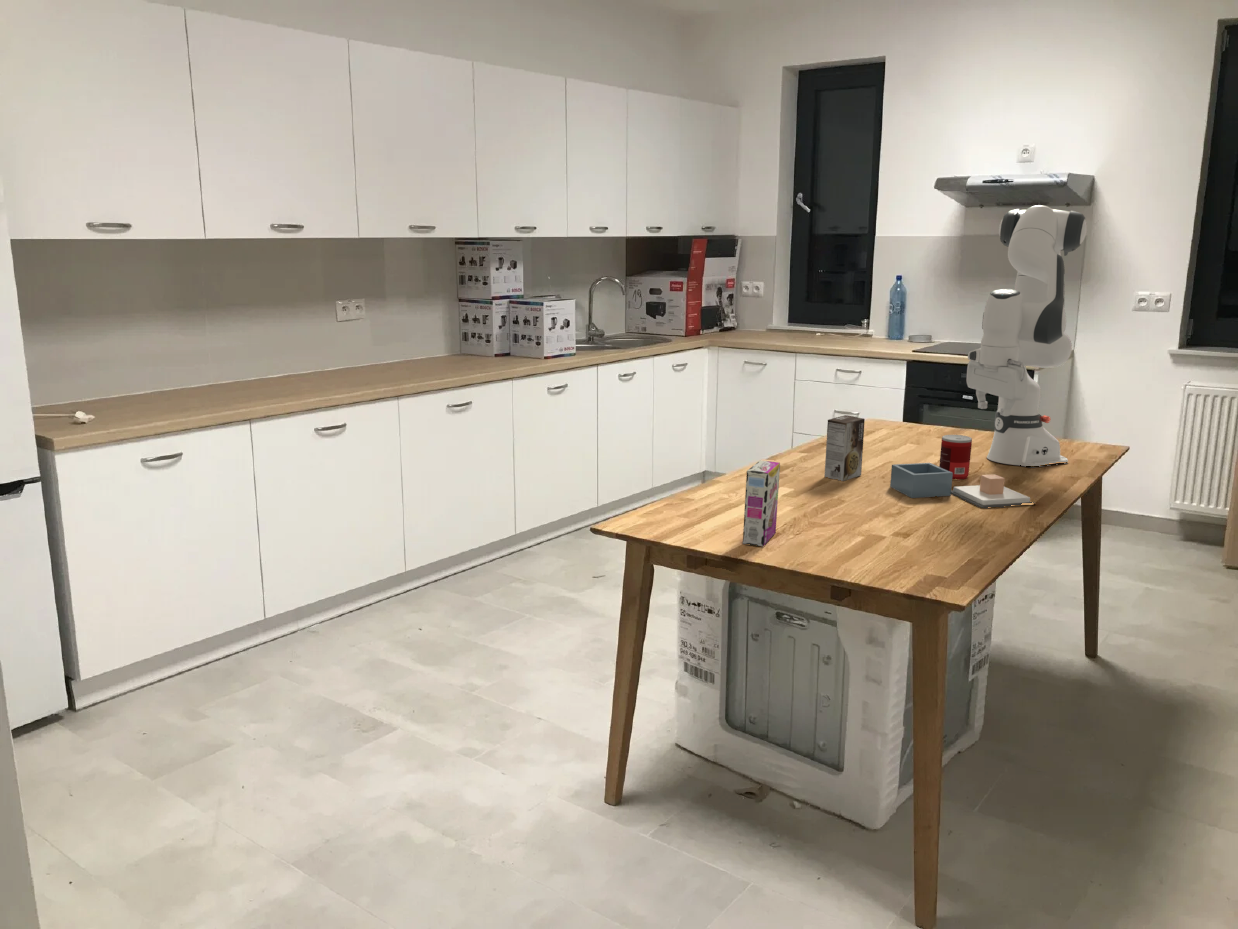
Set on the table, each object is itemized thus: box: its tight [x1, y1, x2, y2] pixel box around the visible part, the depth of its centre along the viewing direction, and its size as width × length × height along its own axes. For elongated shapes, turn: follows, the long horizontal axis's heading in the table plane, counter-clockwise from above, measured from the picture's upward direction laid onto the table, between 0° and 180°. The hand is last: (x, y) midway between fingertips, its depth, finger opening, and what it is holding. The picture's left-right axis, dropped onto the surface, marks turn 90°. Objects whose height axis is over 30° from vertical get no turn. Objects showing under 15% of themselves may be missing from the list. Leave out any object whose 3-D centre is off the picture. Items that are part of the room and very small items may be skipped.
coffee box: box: [824, 415, 866, 482], centre depth 261 cm, size 9×6×16 cm
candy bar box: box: [742, 460, 781, 548], centre depth 208 cm, size 11×5×16 cm, turn 157°
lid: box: [953, 473, 1031, 505], centre depth 242 cm, size 13×13×5 cm
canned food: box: [938, 434, 973, 480], centre depth 263 cm, size 8×8×11 cm
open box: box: [889, 462, 953, 499], centre depth 248 cm, size 11×11×6 cm
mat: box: [951, 489, 1035, 509], centre depth 243 cm, size 15×15×1 cm
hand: (993, 412), depth 240 cm, fingers open, 8 cm apart
